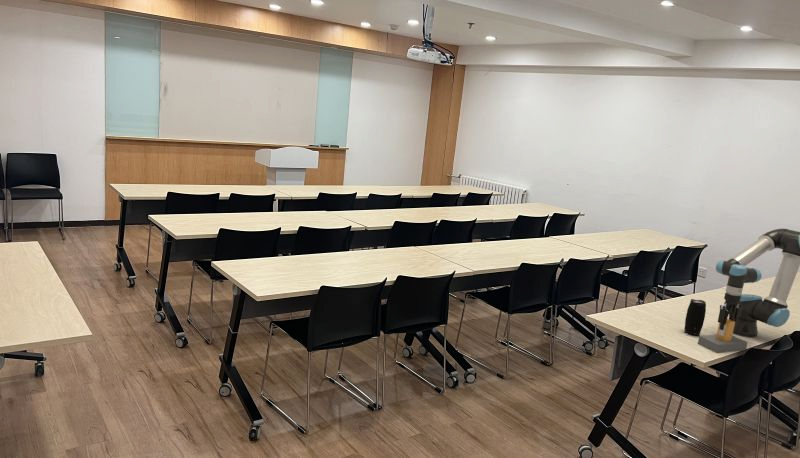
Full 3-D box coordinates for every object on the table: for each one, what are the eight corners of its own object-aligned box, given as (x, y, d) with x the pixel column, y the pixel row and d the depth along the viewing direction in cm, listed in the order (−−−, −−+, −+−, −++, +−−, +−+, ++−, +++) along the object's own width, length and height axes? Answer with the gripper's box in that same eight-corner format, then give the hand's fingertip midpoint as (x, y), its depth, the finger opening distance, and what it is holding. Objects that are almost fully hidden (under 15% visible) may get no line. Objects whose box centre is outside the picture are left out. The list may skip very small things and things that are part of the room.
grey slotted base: (697, 343, 321) (699, 335, 320) (726, 341, 329) (728, 333, 329) (716, 352, 310) (718, 344, 309) (745, 350, 319) (747, 342, 318)
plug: (714, 342, 321) (720, 318, 319) (720, 342, 323) (725, 317, 320) (724, 346, 316) (729, 322, 313) (729, 346, 318) (735, 321, 315)
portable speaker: (699, 337, 331) (705, 304, 327) (681, 332, 336) (687, 300, 332) (702, 334, 337) (709, 301, 333) (684, 329, 343) (691, 297, 339)
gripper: (728, 296, 307) (718, 338, 312) (750, 295, 314) (741, 336, 318) (715, 292, 314) (706, 333, 319) (738, 291, 320) (729, 331, 325)
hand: (724, 335), depth 318 cm, fingers closed on plug, 4 cm apart
